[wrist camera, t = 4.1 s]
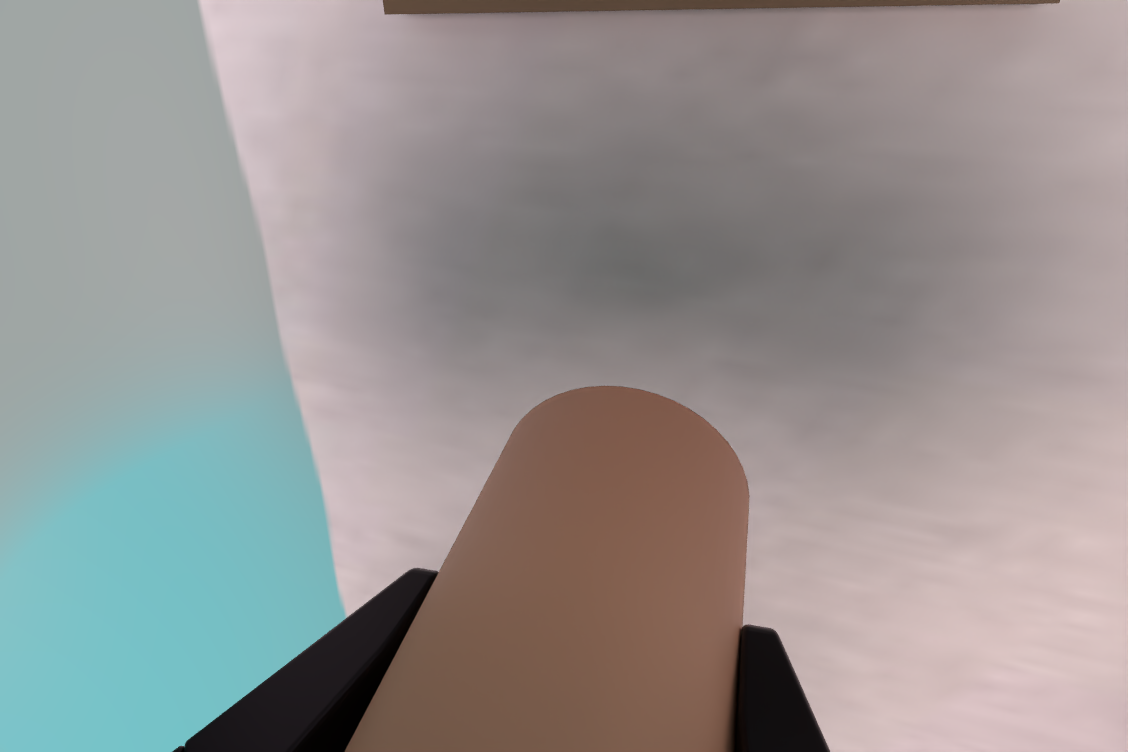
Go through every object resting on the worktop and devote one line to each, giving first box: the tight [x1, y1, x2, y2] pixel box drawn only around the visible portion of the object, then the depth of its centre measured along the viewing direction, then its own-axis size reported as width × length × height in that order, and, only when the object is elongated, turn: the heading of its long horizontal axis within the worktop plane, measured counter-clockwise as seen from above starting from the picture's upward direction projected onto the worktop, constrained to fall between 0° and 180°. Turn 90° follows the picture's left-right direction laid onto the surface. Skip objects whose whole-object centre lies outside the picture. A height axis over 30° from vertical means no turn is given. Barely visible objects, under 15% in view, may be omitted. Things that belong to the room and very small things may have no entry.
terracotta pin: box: [345, 386, 749, 752], centre depth 8 cm, size 4×4×8 cm
